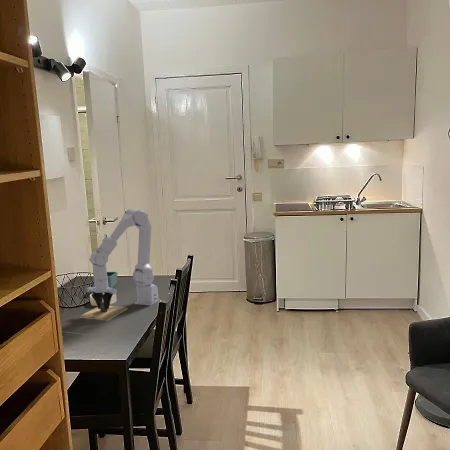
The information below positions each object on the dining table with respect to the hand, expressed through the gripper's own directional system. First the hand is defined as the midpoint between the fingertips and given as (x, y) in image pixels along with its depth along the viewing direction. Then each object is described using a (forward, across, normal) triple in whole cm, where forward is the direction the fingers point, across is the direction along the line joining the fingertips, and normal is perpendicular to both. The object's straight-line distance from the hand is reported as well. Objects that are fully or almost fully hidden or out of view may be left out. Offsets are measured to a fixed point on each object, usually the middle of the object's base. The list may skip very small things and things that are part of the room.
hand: (103, 308), depth 210 cm
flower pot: (+3, -20, +30) cm, 36 cm away
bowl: (+2, -10, +13) cm, 17 cm away
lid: (+2, 0, 0) cm, 2 cm away
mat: (+2, 0, 0) cm, 2 cm away
